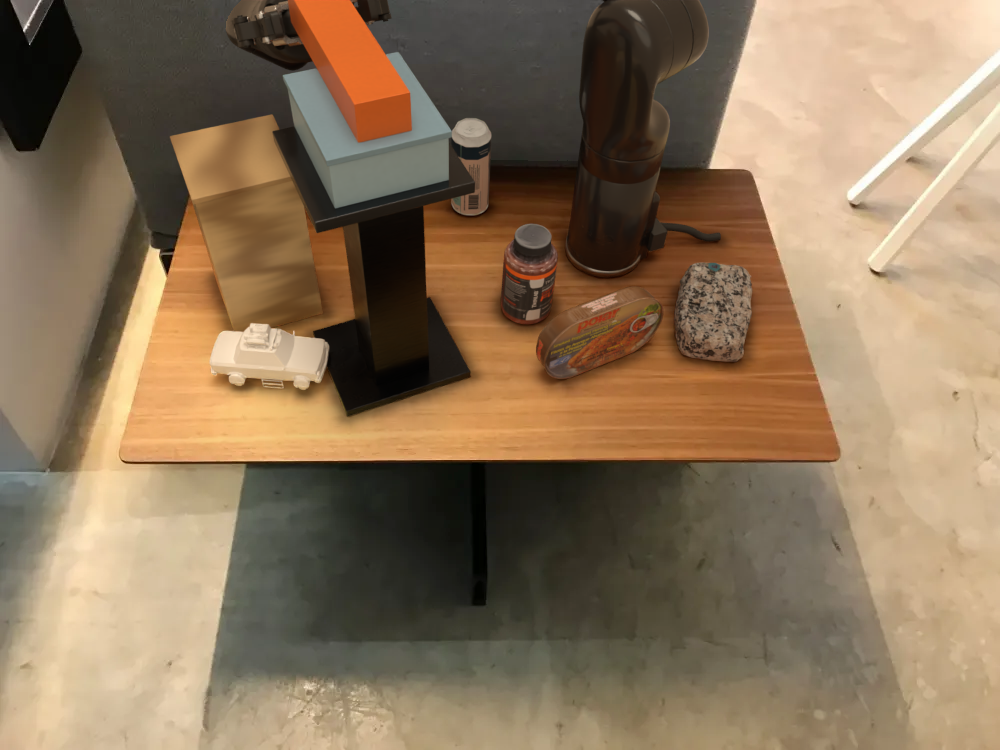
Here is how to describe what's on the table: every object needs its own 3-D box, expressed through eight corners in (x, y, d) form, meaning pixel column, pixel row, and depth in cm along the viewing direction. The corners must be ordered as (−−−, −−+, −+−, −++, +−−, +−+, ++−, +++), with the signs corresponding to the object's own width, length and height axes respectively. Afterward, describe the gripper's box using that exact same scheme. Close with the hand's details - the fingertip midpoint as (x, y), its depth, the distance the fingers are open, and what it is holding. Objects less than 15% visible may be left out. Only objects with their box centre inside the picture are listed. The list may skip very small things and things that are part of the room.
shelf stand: (427, 296, 100) (420, 98, 79) (470, 377, 93) (475, 181, 72) (311, 330, 96) (271, 130, 75) (347, 417, 89) (314, 222, 68)
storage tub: (401, 100, 79) (398, 51, 75) (452, 181, 72) (452, 131, 68) (291, 125, 76) (282, 74, 72) (333, 211, 69) (326, 160, 65)
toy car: (323, 397, 91) (315, 356, 85) (211, 388, 91) (196, 347, 85) (333, 354, 94) (326, 312, 89) (225, 346, 94) (212, 304, 89)
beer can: (495, 203, 111) (499, 125, 102) (475, 223, 109) (477, 145, 99) (464, 189, 113) (465, 110, 103) (444, 208, 110) (443, 130, 101)
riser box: (299, 255, 104) (272, 113, 88) (325, 314, 98) (301, 173, 82) (213, 278, 101) (169, 135, 85) (234, 340, 95) (191, 199, 79)
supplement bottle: (546, 331, 98) (555, 259, 89) (495, 322, 98) (499, 249, 89) (554, 294, 101) (564, 222, 93) (505, 285, 102) (510, 213, 93)
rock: (672, 280, 104) (680, 253, 100) (744, 289, 103) (754, 262, 100) (671, 359, 96) (679, 333, 93) (749, 369, 96) (760, 343, 92)
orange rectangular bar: (339, 13, 79) (334, -24, 76) (412, 130, 68) (410, 92, 65) (291, 22, 77) (285, -16, 75) (358, 143, 67) (354, 104, 64)
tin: (542, 389, 93) (549, 338, 86) (528, 368, 94) (534, 317, 88) (657, 344, 97) (672, 292, 91) (642, 325, 99) (655, 273, 92)
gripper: (214, -4, 84) (230, -18, 70) (352, -28, 88) (394, -46, 74) (236, 75, 87) (256, 77, 73) (369, 49, 91) (412, 45, 77)
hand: (325, 15), depth 74 cm, fingers open, 8 cm apart
